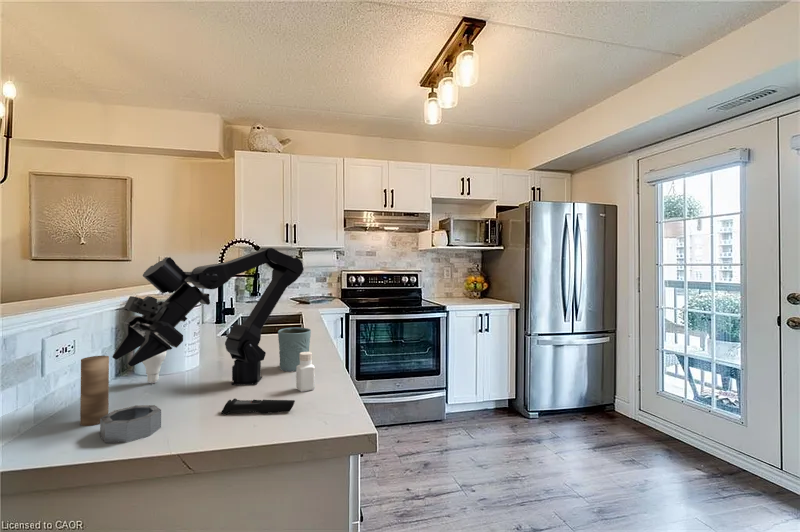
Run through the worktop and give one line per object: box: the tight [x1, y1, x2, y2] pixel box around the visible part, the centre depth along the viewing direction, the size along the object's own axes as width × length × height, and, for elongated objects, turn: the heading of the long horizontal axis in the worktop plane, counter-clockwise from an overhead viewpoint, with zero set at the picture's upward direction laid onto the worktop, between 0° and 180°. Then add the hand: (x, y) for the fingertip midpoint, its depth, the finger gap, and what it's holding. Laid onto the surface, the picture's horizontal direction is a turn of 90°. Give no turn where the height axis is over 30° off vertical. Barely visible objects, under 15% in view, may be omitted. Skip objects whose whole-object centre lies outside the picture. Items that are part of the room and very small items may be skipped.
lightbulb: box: [141, 351, 167, 384], centre depth 103 cm, size 6×6×11 cm
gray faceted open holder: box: [99, 404, 162, 444], centre depth 73 cm, size 9×9×4 cm
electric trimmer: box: [220, 398, 296, 415], centre depth 84 cm, size 4×16×3 cm, turn 92°
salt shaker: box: [295, 351, 316, 393], centre depth 99 cm, size 4×4×10 cm
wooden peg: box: [79, 355, 110, 427], centre depth 78 cm, size 4×4×13 cm
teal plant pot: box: [277, 327, 312, 372], centre depth 120 cm, size 10×10×12 cm
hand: (121, 361), depth 81 cm, fingers open, 9 cm apart
